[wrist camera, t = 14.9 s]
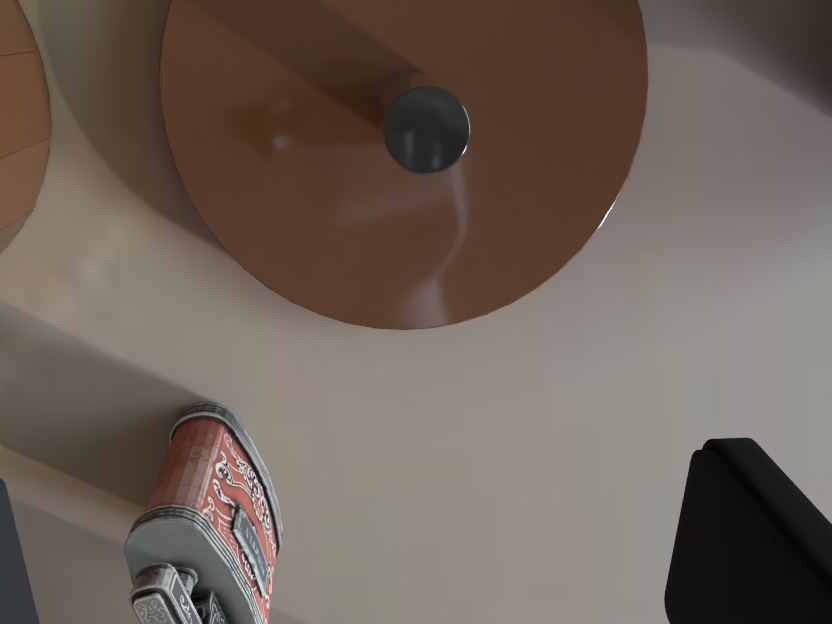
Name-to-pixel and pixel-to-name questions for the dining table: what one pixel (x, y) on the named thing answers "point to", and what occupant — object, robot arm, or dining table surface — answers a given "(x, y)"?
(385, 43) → the lid
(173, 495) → the lighter
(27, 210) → the pot
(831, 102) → the dining table surface
